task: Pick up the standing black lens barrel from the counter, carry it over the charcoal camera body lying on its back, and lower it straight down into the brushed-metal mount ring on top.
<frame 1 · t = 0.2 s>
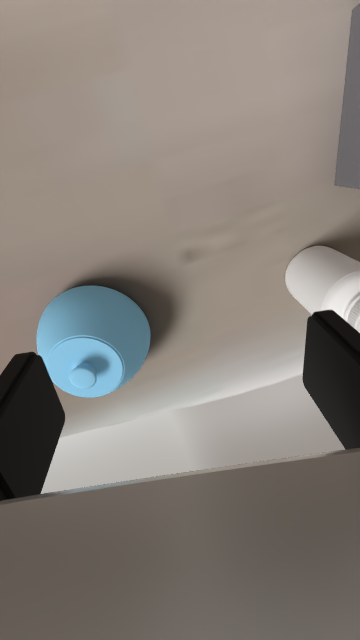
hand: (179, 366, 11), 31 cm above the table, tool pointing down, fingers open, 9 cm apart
pill bottle: (310, 271, 43), on the table
sugar bowl: (98, 328, 45), on the table
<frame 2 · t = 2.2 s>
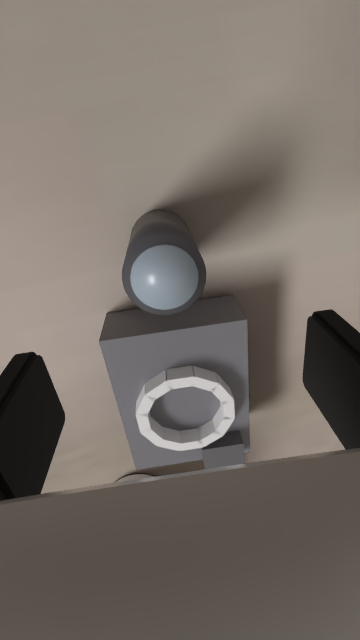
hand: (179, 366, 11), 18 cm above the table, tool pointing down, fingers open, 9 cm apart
camera body: (180, 371, 33), on the table
lens: (160, 240, 26), on the table
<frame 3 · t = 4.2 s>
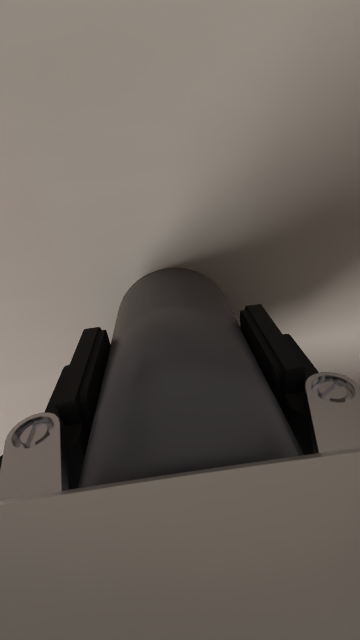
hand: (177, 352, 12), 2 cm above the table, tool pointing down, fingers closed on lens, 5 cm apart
lens: (174, 321, 14), on the table, touching gripper
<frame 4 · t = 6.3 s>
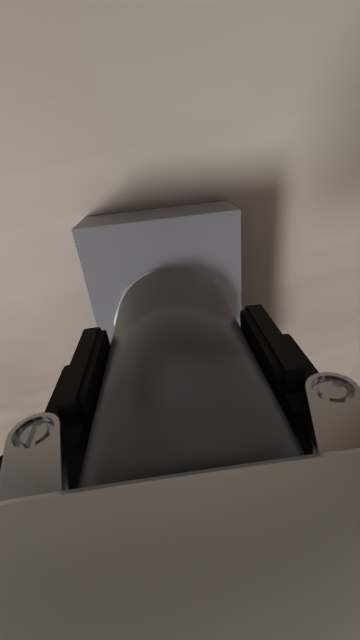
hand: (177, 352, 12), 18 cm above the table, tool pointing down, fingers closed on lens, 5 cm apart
camera body: (167, 294, 30), on the table
lens: (174, 321, 14), point 15 cm above the table, touching gripper
when the fingers open (8 cm above the table, at t = 8.4 s): lens stays where it is, resting on camera body.
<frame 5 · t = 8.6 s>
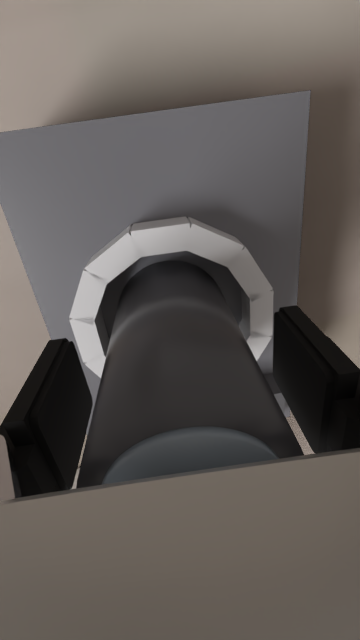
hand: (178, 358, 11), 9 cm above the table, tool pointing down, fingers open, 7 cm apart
camera body: (168, 276, 19), on the table
lens: (171, 311, 15), point 5 cm above the table, touching camera body
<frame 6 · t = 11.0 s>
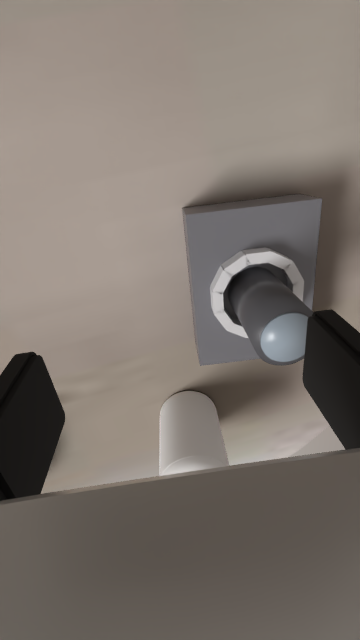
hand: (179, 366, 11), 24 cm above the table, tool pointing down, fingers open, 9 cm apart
pill bottle: (187, 410, 44), on the table
camera body: (242, 275, 35), on the table
lens: (253, 291, 31), point 5 cm above the table, touching camera body
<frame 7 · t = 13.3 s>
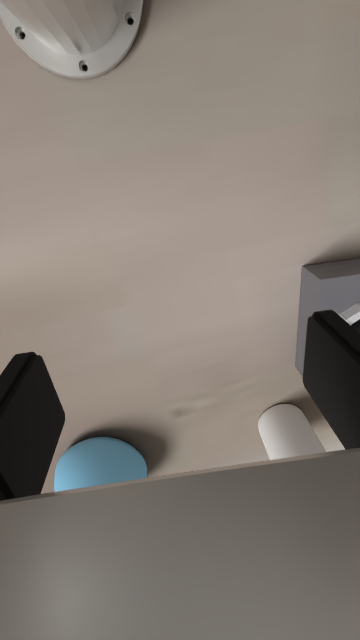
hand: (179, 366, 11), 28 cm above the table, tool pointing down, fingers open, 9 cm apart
pill bottle: (279, 418, 53), on the table
camera body: (340, 314, 44), on the table
sugar bowl: (104, 460, 54), on the table
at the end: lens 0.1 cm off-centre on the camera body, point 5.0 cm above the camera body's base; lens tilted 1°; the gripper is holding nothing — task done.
